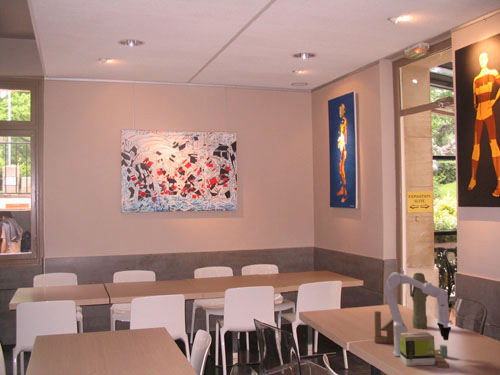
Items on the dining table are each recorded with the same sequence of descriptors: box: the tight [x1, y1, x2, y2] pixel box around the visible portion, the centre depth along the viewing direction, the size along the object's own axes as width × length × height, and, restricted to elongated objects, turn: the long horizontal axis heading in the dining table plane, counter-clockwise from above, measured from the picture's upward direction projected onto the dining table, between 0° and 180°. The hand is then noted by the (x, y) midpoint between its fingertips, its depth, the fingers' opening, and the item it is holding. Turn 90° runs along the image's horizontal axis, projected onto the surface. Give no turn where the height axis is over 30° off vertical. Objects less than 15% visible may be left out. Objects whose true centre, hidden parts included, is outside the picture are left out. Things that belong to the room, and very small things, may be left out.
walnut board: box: [435, 352, 450, 369], centre depth 287 cm, size 24×5×2 cm, turn 174°
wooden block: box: [373, 310, 395, 344], centre depth 324 cm, size 4×11×18 cm, turn 85°
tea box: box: [400, 331, 436, 367], centre depth 284 cm, size 15×10×15 cm, turn 92°
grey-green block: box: [435, 344, 448, 359], centre depth 294 cm, size 4×7×6 cm, turn 84°
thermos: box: [409, 272, 429, 330], centre depth 360 cm, size 9×12×35 cm
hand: (444, 338), depth 292 cm, fingers open, 7 cm apart
